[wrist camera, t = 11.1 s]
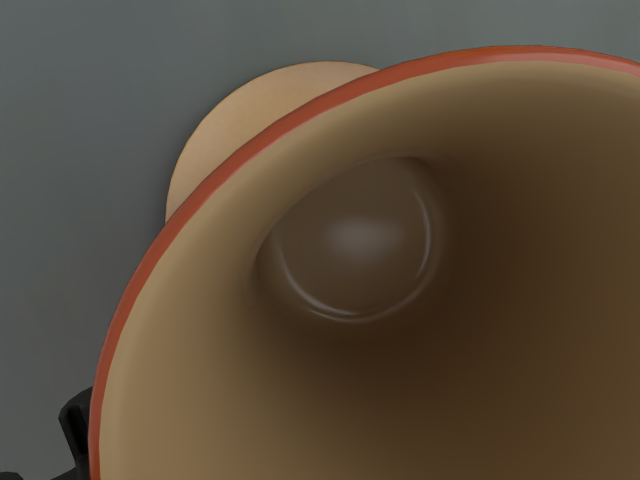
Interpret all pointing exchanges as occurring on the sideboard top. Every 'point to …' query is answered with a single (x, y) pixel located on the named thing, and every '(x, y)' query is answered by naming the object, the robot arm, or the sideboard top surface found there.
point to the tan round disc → (252, 118)
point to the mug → (397, 287)
